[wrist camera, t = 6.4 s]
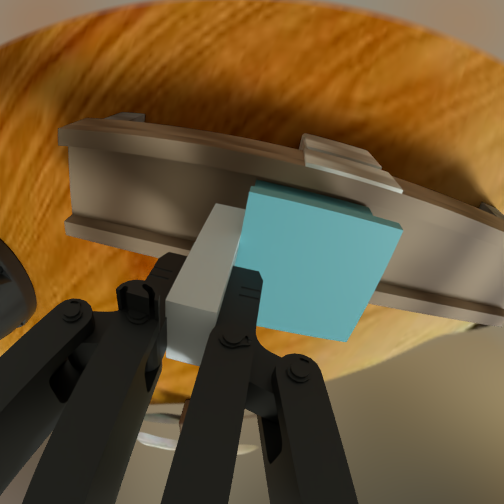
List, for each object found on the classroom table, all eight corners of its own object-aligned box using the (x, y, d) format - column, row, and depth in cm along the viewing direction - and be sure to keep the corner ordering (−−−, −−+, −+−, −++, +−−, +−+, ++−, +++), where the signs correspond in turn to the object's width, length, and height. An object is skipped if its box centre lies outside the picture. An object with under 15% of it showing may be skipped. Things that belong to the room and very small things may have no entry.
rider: (239, 263, 18) (224, 318, 15) (261, 157, 15) (249, 191, 11) (338, 284, 18) (346, 342, 15) (376, 186, 15) (403, 230, 11)
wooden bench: (119, 189, 25) (66, 237, 18) (123, 103, 21) (58, 125, 14) (465, 269, 25) (500, 328, 18) (499, 201, 21) (550, 250, 14)
